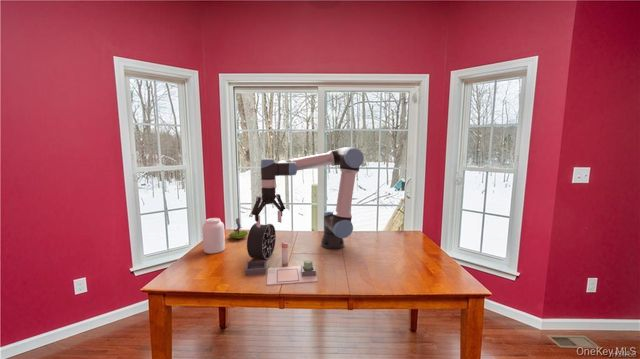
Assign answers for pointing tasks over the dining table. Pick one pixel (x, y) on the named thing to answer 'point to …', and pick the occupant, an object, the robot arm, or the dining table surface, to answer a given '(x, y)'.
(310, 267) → the button cap
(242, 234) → the figurine
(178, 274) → the dining table surface
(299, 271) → the board
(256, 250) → the wheel rim
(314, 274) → the button housing
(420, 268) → the dining table surface
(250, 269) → the marker tray
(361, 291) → the dining table surface
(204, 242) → the white jar
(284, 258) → the marker
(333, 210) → the robot arm
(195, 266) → the dining table surface
